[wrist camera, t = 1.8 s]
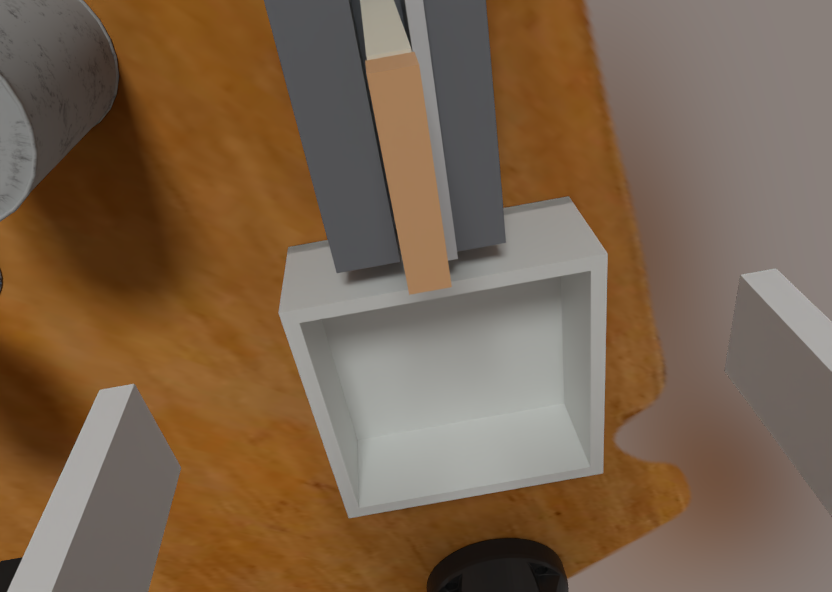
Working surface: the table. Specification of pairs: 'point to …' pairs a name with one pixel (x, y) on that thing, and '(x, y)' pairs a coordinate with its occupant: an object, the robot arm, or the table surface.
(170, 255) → the table surface
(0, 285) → the wine glass
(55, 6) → the grey cylinder
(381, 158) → the dispenser
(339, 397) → the bin
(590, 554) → the table surface
